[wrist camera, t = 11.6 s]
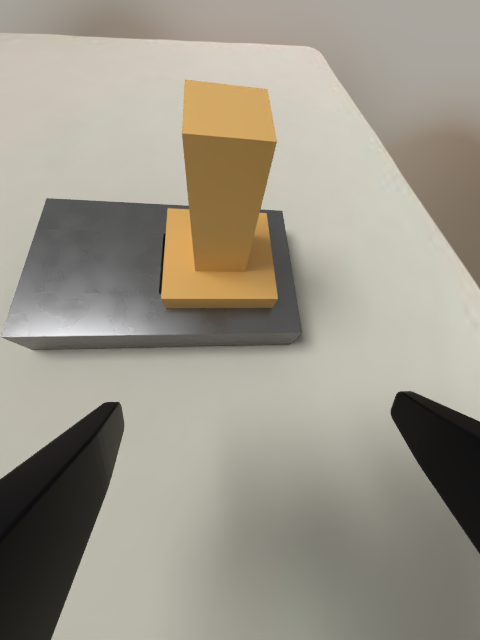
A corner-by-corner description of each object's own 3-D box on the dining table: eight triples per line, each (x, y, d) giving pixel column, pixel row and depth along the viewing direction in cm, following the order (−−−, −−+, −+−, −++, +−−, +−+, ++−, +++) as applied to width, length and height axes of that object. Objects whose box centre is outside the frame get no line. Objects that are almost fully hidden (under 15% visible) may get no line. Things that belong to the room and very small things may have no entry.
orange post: (265, 320, 21) (342, 185, 9) (169, 321, 20) (110, 170, 8) (257, 245, 24) (306, 69, 12) (174, 242, 23) (135, 46, 11)
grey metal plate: (289, 344, 21) (301, 332, 18) (32, 349, 18) (0, 336, 15) (274, 233, 25) (282, 210, 23) (66, 225, 23) (46, 198, 20)
